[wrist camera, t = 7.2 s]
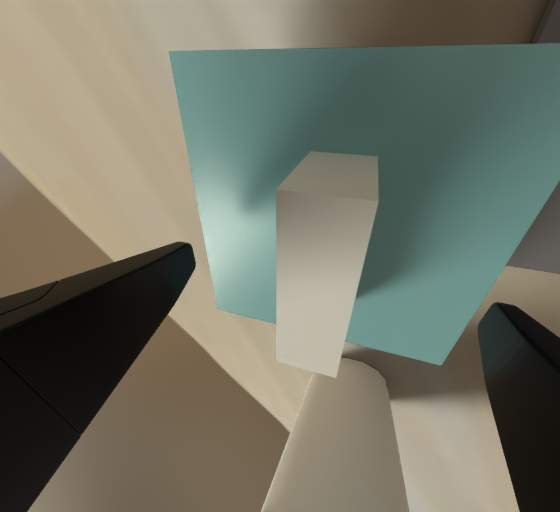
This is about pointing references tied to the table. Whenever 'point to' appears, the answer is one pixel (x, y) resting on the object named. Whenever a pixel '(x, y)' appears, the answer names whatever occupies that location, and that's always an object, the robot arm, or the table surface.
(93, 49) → the table surface
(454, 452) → the table surface
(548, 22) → the mat
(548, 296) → the table surface
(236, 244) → the cover plate
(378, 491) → the foam cup
